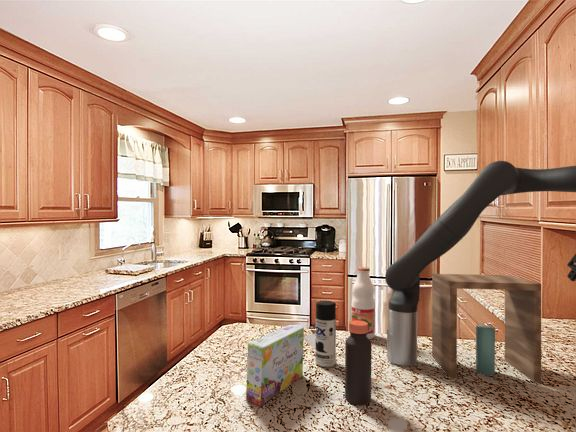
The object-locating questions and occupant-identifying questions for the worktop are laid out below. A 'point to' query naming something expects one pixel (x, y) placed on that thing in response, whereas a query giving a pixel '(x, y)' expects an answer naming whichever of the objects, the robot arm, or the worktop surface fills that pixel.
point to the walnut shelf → (518, 320)
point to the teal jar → (485, 349)
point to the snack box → (274, 363)
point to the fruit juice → (364, 300)
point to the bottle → (358, 364)
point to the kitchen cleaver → (311, 337)
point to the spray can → (325, 333)
